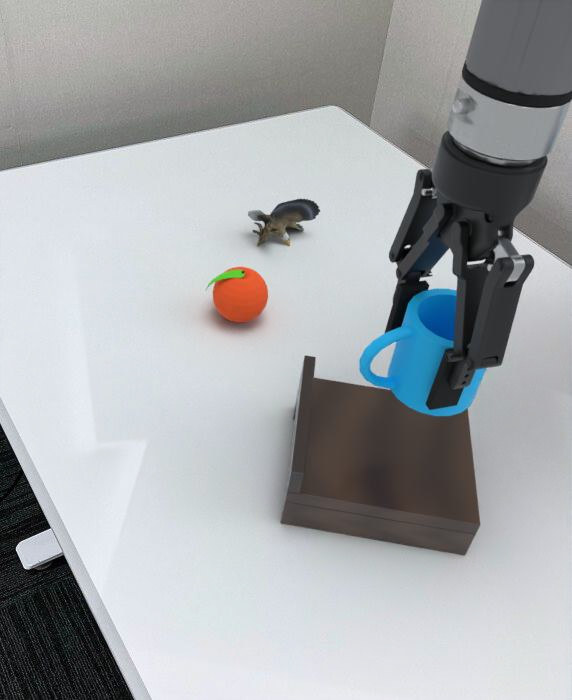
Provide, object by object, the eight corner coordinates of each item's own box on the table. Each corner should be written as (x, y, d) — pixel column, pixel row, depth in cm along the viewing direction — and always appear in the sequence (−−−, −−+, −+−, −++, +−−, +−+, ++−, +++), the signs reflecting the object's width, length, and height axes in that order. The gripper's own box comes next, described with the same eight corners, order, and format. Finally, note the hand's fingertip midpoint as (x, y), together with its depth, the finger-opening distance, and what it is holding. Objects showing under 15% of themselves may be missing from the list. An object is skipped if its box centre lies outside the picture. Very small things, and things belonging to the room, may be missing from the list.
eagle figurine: (288, 258, 107) (329, 224, 110) (266, 212, 104) (309, 179, 108) (254, 259, 113) (294, 227, 117) (233, 216, 110) (275, 185, 114)
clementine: (208, 337, 95) (212, 291, 90) (197, 301, 100) (200, 256, 95) (271, 331, 97) (277, 286, 92) (257, 296, 102) (263, 252, 97)
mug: (450, 350, 76) (475, 284, 71) (490, 410, 70) (519, 344, 65) (336, 363, 74) (352, 296, 68) (367, 427, 68) (388, 359, 62)
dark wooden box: (454, 432, 86) (475, 382, 81) (465, 555, 75) (490, 505, 69) (294, 406, 88) (304, 354, 82) (280, 523, 76) (291, 472, 70)
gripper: (386, 81, 61) (337, 303, 77) (532, 228, 47) (435, 465, 62) (469, 77, 63) (404, 294, 79) (634, 217, 49) (515, 449, 64)
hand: (418, 369), depth 70 cm, fingers closed on mug, 8 cm apart
